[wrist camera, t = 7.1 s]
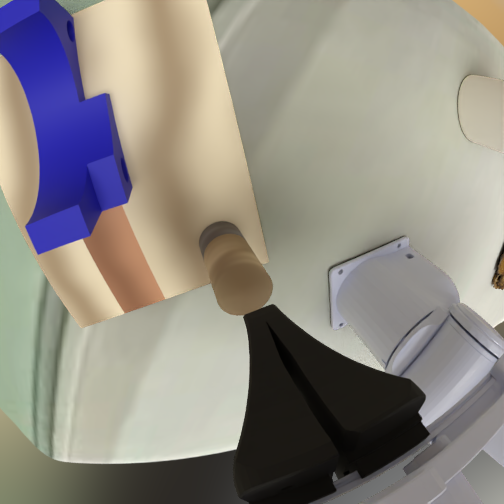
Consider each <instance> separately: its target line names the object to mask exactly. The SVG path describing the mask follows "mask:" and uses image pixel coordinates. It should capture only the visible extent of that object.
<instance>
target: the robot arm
mask: <svg viewBox="0 0 504 504" xmlns="http://www.w3.org/2000/svg"><path fill="white" fill-rule="evenodd" d="M339 270H340V271H339ZM329 283H330V303H331V327H332V329H333V330H337V329H339V328H342V327H344V326H346V325H348V324H349V326H350V327H351V328H352V329H353V331H354V332H355V333H356V334H357V335H358V337H359V338H360V339H361V340H362V342H363V343H364V344H365V345H366V347H367V348H368V349H369V351H370V352H371V353H372V354H373V356H374V357H375V358H376V359H377V361H378V362H379V363H380V364H381V366H382V367H383V368H384V370H385V372H382V371H379V370H376V369H373V368H371V367H368V366H366V365H363V364H361V363H358V362H356V361H354V360H352V359H350V358H347V357H345V356H343V355H341V354H340V353H338V352H336V351H334V350H332V349H331V348H329V347H327V346H326V345H324V344H322V343H321V342H319V341H318V340H316V339H315V338H313V337H312V336H311V335H309V334H308V333H306V332H305V331H304V330H303V329H301V328H300V327H299V326H297V325H296V324H295V323H294V322H292V321H291V320H290V319H289V318H288V317H287V316H286V315H285V314H283V313H282V312H281V311H280V310H279V309H278V308H277V307H276V305H274V304H271V305H269V306H266V307H263V308H261V309H258V310H255V311H253V312H250V313H247V314H245V315H244V317H243V318H244V321H245V324H246V328H247V333H248V340H249V354H250V375H249V390H248V399H247V406H246V413H245V418H244V423H243V427H242V432H241V436H240V440H239V443H238V447H237V450H236V453H235V456H234V467H233V476H234V477H233V478H234V485H235V488H236V491H237V494H238V496H239V498H240V499H243V500H245V501H247V502H249V504H323V503H326V502H328V501H330V500H333V499H335V498H337V497H339V496H341V495H343V494H346V493H347V492H350V491H352V490H354V489H356V488H358V487H360V486H361V485H363V484H365V483H367V482H369V481H370V480H372V479H374V478H376V477H378V476H380V475H381V474H383V473H385V472H386V471H388V470H390V469H391V468H393V467H395V466H396V465H398V464H399V463H401V462H402V461H404V460H405V459H407V458H408V457H410V456H411V455H413V454H414V453H416V452H417V451H419V450H420V449H421V448H423V447H424V446H425V445H427V444H428V443H429V444H431V445H430V446H429V447H428V448H426V449H425V450H424V451H422V452H421V453H420V454H418V455H417V456H416V457H415V458H414V459H413V460H412V461H411V462H410V463H409V464H408V465H406V466H405V467H404V468H403V470H404V471H405V473H406V474H407V476H405V477H404V478H402V479H401V480H399V481H398V482H396V483H395V484H393V485H391V486H389V487H388V488H386V489H384V490H382V491H381V492H379V493H377V494H375V495H374V496H372V497H370V498H368V499H366V500H364V501H363V502H361V503H358V504H483V503H482V501H481V500H480V498H479V497H478V495H477V494H476V492H475V491H474V489H473V488H472V486H471V485H470V483H469V482H468V480H467V479H466V478H465V476H464V475H463V473H462V472H461V470H462V469H463V468H464V467H465V466H466V465H467V464H468V463H469V462H470V461H471V460H472V459H473V458H474V457H475V456H476V455H477V454H478V453H479V452H480V451H481V450H482V449H483V450H484V451H485V452H486V453H488V454H489V455H490V456H491V457H493V459H495V460H496V461H497V462H498V463H499V464H501V465H502V466H503V467H504V339H503V338H502V337H501V335H500V334H499V333H498V332H497V331H495V329H494V328H493V327H492V326H491V325H490V324H488V323H487V322H486V321H485V320H484V319H483V318H482V317H481V316H479V315H478V314H477V313H476V312H475V311H473V310H472V309H471V308H469V307H468V306H467V305H465V304H464V303H460V298H459V293H458V291H457V288H456V286H455V284H454V283H453V281H452V280H451V278H450V277H449V276H448V275H447V274H446V273H445V272H443V271H442V270H441V269H440V268H438V267H437V266H436V265H434V264H433V263H432V262H430V261H429V260H428V259H426V258H425V257H424V256H422V255H421V254H419V253H418V252H417V251H415V250H414V249H413V248H411V247H410V246H409V238H408V237H406V236H405V237H402V238H400V239H398V240H396V241H394V242H391V243H389V244H387V245H385V246H382V247H380V248H378V249H376V250H373V251H371V252H369V253H366V254H364V255H362V256H360V257H357V258H355V259H353V260H350V261H348V262H345V263H343V264H341V265H338V266H336V267H334V268H332V269H331V270H330V272H329ZM333 472H335V474H336V476H337V478H338V480H336V481H334V482H333V480H332V476H333Z"/></svg>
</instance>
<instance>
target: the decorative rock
mask: <svg viewBox="0 0 504 504" xmlns="http://www.w3.org/2000/svg"><path fill="white" fill-rule="evenodd" d="M493 282H494V286H493V287H495V289H497V288H498V289H502V290H503V289H504V253H503V254H502V255H501V256H500V263H499V264H498V269H497V271H496V273H495V276H494V278H493Z"/></svg>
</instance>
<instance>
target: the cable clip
mask: <svg viewBox="0 0 504 504" xmlns="http://www.w3.org/2000/svg"><path fill="white" fill-rule="evenodd" d="M0 54H1V55H3V56H4V58H5V59H6V60H7V61H8V62H9V64H10V65H11V67H12V68H13V70H14V71H15V73H16V75H17V77H18V79H19V81H20V83H21V85H22V87H23V90H24V92H25V95H26V98H27V101H28V104H29V107H30V110H31V114H32V118H33V122H34V127H35V132H36V138H37V144H38V153H39V190H38V197H37V201H36V205H35V209H34V211H33V214H32V216H31V218H30V220H29V222H28V223H27V224H26V225H25V228H26V230H27V232H28V235H29V237H30V239H31V241H32V244H33V246H34V248H35V250H36V252H37V254H38V255H39V254H42V253H44V252H47V251H50V250H52V249H55V248H58V247H61V246H63V245H66V244H69V243H72V242H75V241H78V240H80V239H83V238H86V237H89V236H91V234H92V232H93V229H94V227H95V225H96V223H97V221H98V219H99V217H100V215H101V212H102V211H105V210H108V209H111V208H114V207H117V206H120V205H123V204H126V203H128V201H129V198H130V194H131V191H132V188H133V187H132V183H131V180H130V176H129V173H128V169H127V165H126V162H125V158H124V154H123V150H122V147H121V143H120V139H119V134H118V130H117V126H116V122H115V117H114V113H113V108H112V103H111V99H110V94H107V93H103V94H100V95H98V96H95V97H92V98H90V99H87V100H85V95H84V90H83V85H82V79H81V73H80V67H79V61H78V54H77V46H76V38H75V28H74V18H73V17H72V16H71V15H70V14H69V13H68V12H67V11H66V10H65V9H64V8H63V7H62V6H61V5H60V4H59V3H58V2H56V1H55V0H13V1H11V2H9V3H8V4H6V5H5V6H3V7H1V8H0Z"/></svg>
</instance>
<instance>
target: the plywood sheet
mask: <svg viewBox="0 0 504 504" xmlns="http://www.w3.org/2000/svg"><path fill="white" fill-rule="evenodd" d="M71 16H72V17H73V18H74V28H75V38H76V46H77V54H78V61H79V67H80V73H81V79H82V85H83V90H84V95H85V100H87V99H90V98H92V97H95V96H98V95H100V94H103V93H107V94H110V99H111V103H112V108H113V113H114V117H115V122H116V126H117V130H118V134H119V139H120V143H121V147H122V150H123V154H124V158H125V162H126V165H127V169H128V173H129V176H130V180H131V183H132V187H133V188H132V191H131V194H130V198H129V201H128V203H126V204H123V205H120V206H117V207H114V208H111V209H108V210H105V211H102V212H101V215H100V217H99V219H98V221H97V223H96V225H95V227H94V229H93V232H92V234H91V236H89V237H86V238H83V239H80V240H78V241H75V242H72V243H69V244H66V245H63V246H61V247H58V248H55V249H52V250H50V251H47V252H44V253H42V254H39V255H38V254H37V252H36V250H35V248H34V246H33V244H32V241H31V239H30V237H29V235H28V232H27V230H26V228H25V225H26V224H27V223H28V222H29V220H30V218H31V216H32V214H33V211H34V209H35V205H36V201H37V197H38V190H39V153H38V144H37V138H36V132H35V127H34V122H33V118H32V114H31V110H30V107H29V104H28V101H27V98H26V95H25V92H24V90H23V87H22V85H21V83H20V81H19V79H18V77H17V75H16V73H15V71H14V70H13V68H12V67H11V65H10V64H9V62H8V61H7V60H6V59H5V58H4V56H3V55H2V56H1V57H0V186H1V188H2V191H3V193H4V195H5V198H6V200H7V202H8V205H9V207H10V209H11V211H12V214H13V216H14V218H15V220H16V222H17V224H18V226H19V228H20V230H21V232H22V234H23V236H24V238H25V240H26V242H27V244H28V246H29V248H30V250H31V251H32V253H33V255H34V257H35V259H36V260H37V262H38V264H39V266H40V267H41V269H42V271H43V272H44V274H45V276H46V277H47V279H48V280H49V282H50V284H51V285H52V287H53V288H54V290H55V292H56V293H57V295H58V296H59V298H60V299H61V301H62V302H63V304H64V305H65V306H66V308H67V309H68V311H69V312H70V314H71V315H72V316H73V318H74V319H75V321H76V322H77V323H78V325H79V326H80V327H81V328H84V327H87V326H89V325H92V324H95V323H98V322H101V321H104V320H107V319H110V318H113V317H116V316H119V315H122V314H125V313H127V312H130V311H133V310H136V309H139V308H141V307H144V306H147V305H150V304H153V303H156V302H159V301H161V300H164V299H168V298H170V297H173V296H176V295H179V294H182V293H185V292H187V291H190V290H193V289H196V288H199V287H201V286H204V285H207V284H210V283H211V281H210V278H209V275H208V272H207V269H206V266H205V263H204V260H203V257H202V254H201V250H200V247H199V239H200V236H201V234H202V232H203V231H204V229H205V228H206V227H208V226H209V225H211V224H213V223H215V222H219V221H226V222H230V223H232V224H234V225H235V226H236V227H237V228H238V229H239V230H240V232H241V233H242V235H243V236H244V238H245V239H246V241H247V243H248V244H249V246H250V247H251V249H252V250H253V252H254V253H255V255H256V256H257V258H258V260H259V261H260V263H261V264H265V263H267V262H269V259H268V255H267V250H266V246H265V241H264V237H263V232H262V228H261V223H260V219H259V214H258V210H257V206H256V201H255V197H254V193H253V188H252V184H251V180H250V175H249V171H248V167H247V162H246V158H245V154H244V150H243V145H242V141H241V137H240V133H239V129H238V124H237V120H236V116H235V112H234V108H233V104H232V100H231V95H230V91H229V87H228V83H227V79H226V75H225V71H224V67H223V63H222V59H221V55H220V51H219V47H218V43H217V39H216V35H215V31H214V28H213V24H212V20H211V16H210V12H209V8H208V4H207V1H206V0H105V1H103V2H100V3H97V4H95V5H93V6H90V7H88V8H85V9H83V10H81V11H79V12H76V13H74V14H72V15H71Z"/></svg>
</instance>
